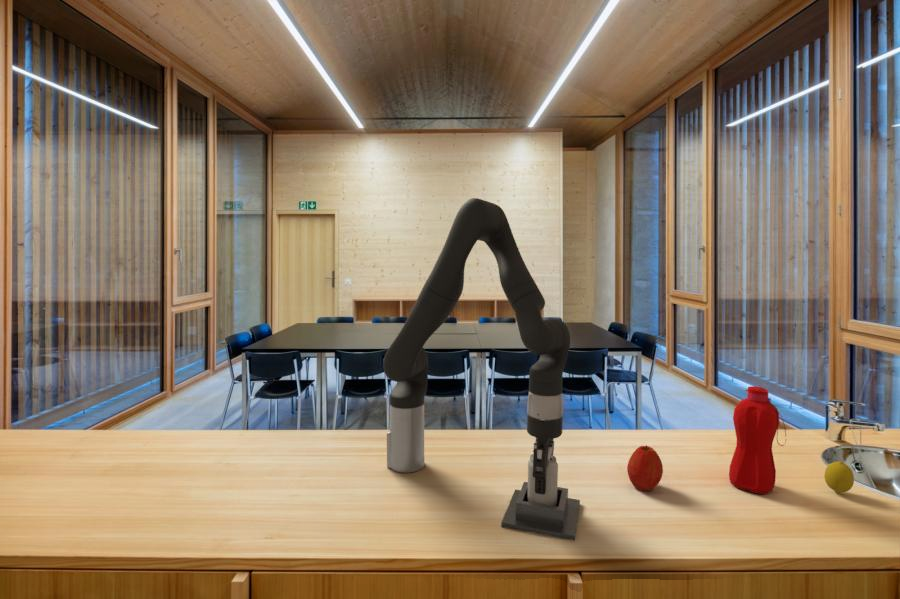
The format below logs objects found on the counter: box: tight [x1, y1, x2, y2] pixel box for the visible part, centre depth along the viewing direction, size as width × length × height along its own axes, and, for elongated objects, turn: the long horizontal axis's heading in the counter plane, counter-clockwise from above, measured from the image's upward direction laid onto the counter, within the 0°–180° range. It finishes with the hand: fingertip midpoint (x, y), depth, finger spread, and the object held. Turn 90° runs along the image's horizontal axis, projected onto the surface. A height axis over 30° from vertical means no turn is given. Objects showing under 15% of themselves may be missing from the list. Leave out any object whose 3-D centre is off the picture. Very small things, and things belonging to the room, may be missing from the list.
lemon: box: [824, 460, 855, 494], centre depth 118 cm, size 6×6×8 cm
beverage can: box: [527, 453, 559, 507], centre depth 107 cm, size 6×6×12 cm
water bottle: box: [728, 385, 787, 495], centre depth 120 cm, size 9×11×25 cm
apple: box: [626, 444, 664, 492], centre depth 120 cm, size 8×8×11 cm
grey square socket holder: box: [500, 481, 581, 541], centre depth 108 cm, size 15×15×4 cm
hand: (543, 484), depth 107 cm, fingers open, 8 cm apart
